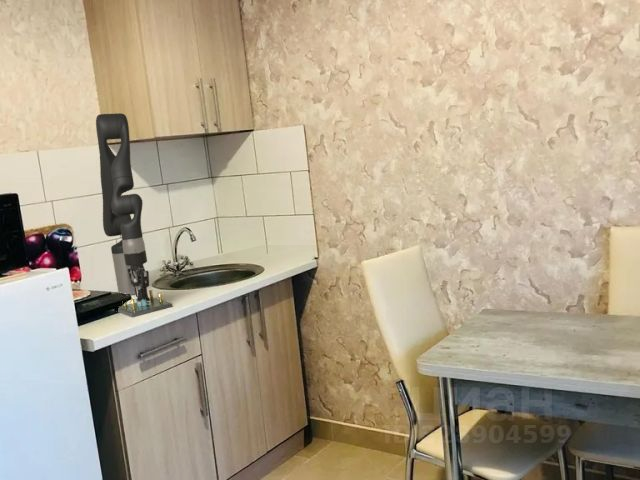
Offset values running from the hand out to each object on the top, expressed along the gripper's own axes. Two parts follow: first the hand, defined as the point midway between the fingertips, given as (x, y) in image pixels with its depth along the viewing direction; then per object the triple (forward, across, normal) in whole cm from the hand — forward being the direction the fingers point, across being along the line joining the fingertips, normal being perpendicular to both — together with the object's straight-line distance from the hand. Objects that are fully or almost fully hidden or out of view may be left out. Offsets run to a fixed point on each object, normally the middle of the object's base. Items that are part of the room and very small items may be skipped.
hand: (142, 297), depth 233 cm
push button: (+3, +1, 0) cm, 3 cm away
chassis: (+4, 0, 0) cm, 4 cm away
